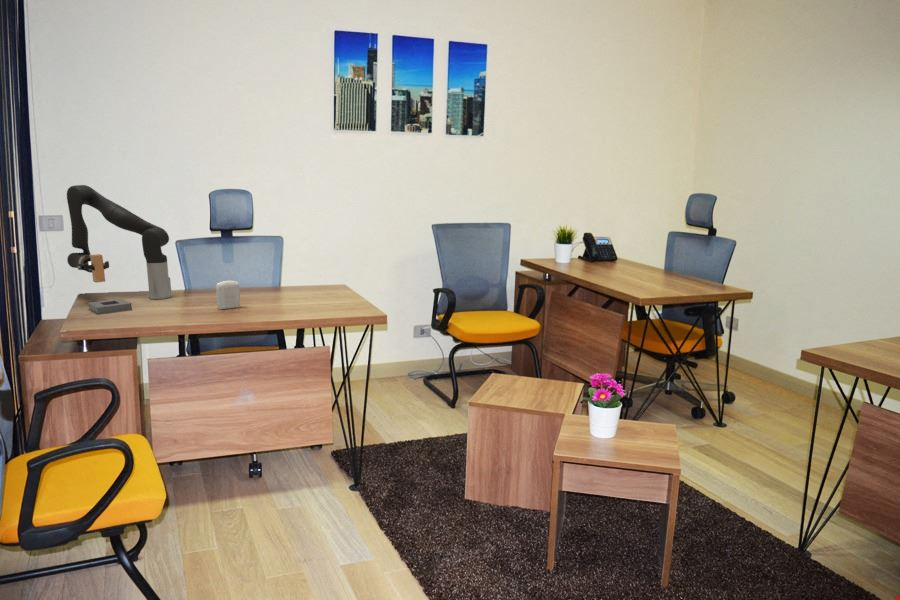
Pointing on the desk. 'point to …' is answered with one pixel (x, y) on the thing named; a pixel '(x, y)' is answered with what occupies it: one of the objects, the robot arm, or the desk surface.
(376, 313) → the desk surface
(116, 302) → the well stand
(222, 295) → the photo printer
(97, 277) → the bracket post
